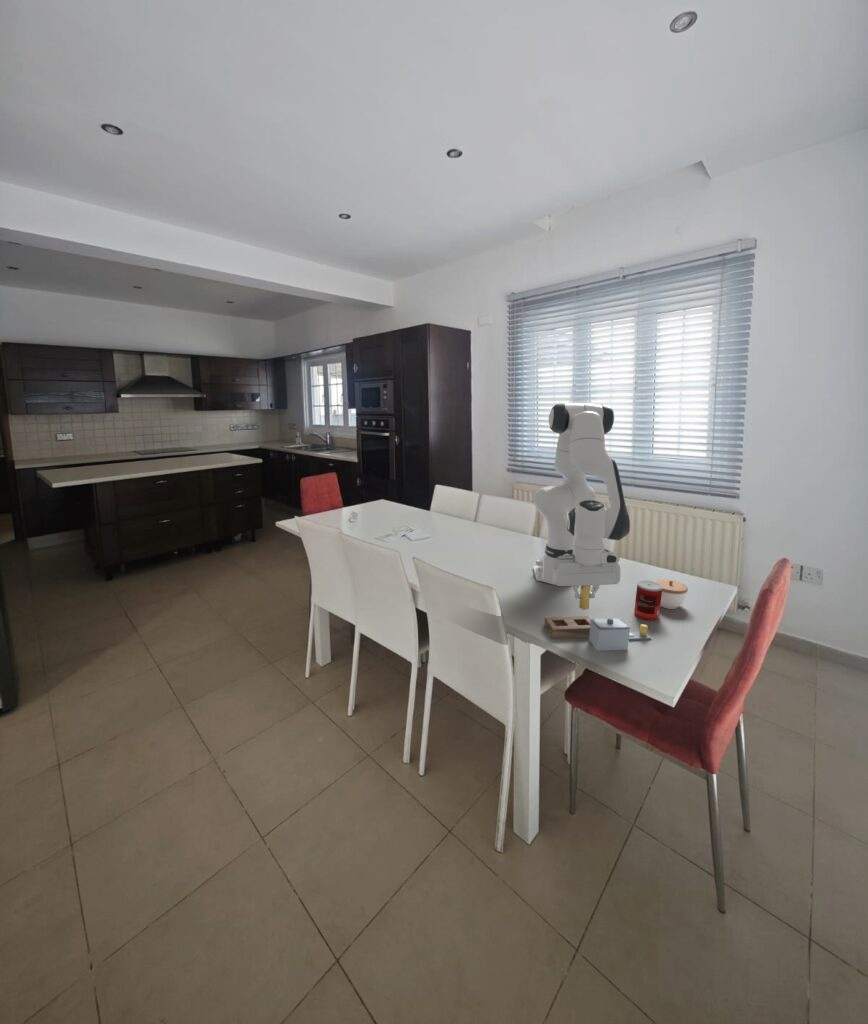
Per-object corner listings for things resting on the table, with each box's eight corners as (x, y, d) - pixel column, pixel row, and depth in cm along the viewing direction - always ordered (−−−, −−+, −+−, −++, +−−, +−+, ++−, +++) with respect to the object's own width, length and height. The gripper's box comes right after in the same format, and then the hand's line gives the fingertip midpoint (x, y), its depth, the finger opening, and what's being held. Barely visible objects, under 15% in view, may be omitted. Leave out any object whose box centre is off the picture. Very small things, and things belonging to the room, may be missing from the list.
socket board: (544, 626, 146) (544, 617, 146) (586, 624, 148) (587, 616, 147) (552, 638, 139) (553, 629, 138) (597, 636, 140) (598, 627, 139)
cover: (588, 640, 138) (591, 615, 136) (617, 639, 138) (620, 614, 137) (597, 650, 132) (600, 625, 130) (627, 649, 133) (630, 624, 131)
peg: (577, 605, 142) (579, 581, 141) (586, 605, 143) (588, 581, 141) (581, 609, 140) (583, 584, 138) (590, 609, 140) (592, 584, 138)
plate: (622, 634, 141) (623, 623, 141) (644, 633, 142) (645, 622, 141) (628, 640, 138) (630, 629, 137) (651, 639, 138) (652, 628, 137)
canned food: (651, 610, 158) (655, 580, 156) (663, 620, 151) (667, 589, 148) (629, 610, 158) (633, 580, 156) (640, 620, 150) (644, 589, 148)
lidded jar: (666, 613, 156) (670, 587, 154) (644, 600, 166) (647, 576, 164) (692, 610, 159) (695, 584, 156) (669, 597, 169) (672, 573, 166)
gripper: (558, 559, 134) (555, 603, 137) (625, 557, 135) (620, 600, 138) (550, 552, 140) (548, 595, 143) (614, 550, 142) (611, 592, 144)
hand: (584, 597), depth 141 cm, fingers closed on peg, 3 cm apart
